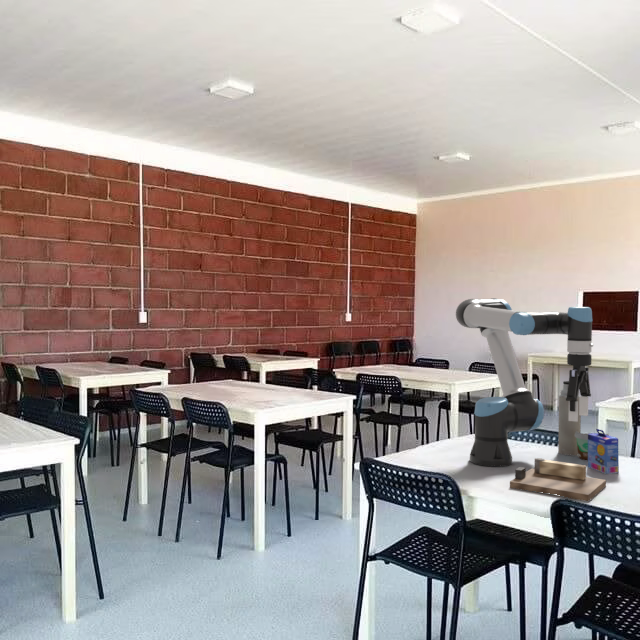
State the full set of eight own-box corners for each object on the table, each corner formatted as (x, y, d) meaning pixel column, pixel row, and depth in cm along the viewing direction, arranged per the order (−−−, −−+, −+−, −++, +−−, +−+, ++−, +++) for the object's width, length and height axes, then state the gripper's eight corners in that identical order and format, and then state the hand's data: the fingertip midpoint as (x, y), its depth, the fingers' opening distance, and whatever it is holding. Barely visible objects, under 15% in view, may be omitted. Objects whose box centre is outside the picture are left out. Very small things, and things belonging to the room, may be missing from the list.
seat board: (509, 487, 210) (509, 472, 210) (531, 474, 226) (531, 459, 226) (588, 501, 196) (588, 484, 196) (605, 486, 212) (606, 470, 212)
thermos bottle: (566, 450, 262) (567, 379, 262) (584, 453, 256) (585, 381, 255) (554, 452, 258) (554, 381, 257) (571, 456, 251) (572, 383, 250)
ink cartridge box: (586, 467, 235) (586, 427, 235) (599, 466, 237) (600, 426, 237) (605, 474, 226) (606, 432, 226) (619, 473, 228) (619, 431, 227)
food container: (574, 460, 245) (574, 433, 245) (574, 456, 251) (574, 430, 251) (610, 463, 241) (610, 436, 241) (609, 459, 247) (609, 433, 246)
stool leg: (533, 472, 220) (533, 459, 220) (536, 470, 223) (536, 457, 223) (583, 480, 211) (583, 466, 211) (586, 478, 213) (586, 464, 213)
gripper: (580, 356, 208) (579, 425, 209) (600, 351, 227) (599, 414, 228) (556, 355, 212) (555, 422, 213) (577, 350, 232) (577, 411, 233)
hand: (578, 418), depth 221 cm, fingers open, 12 cm apart
